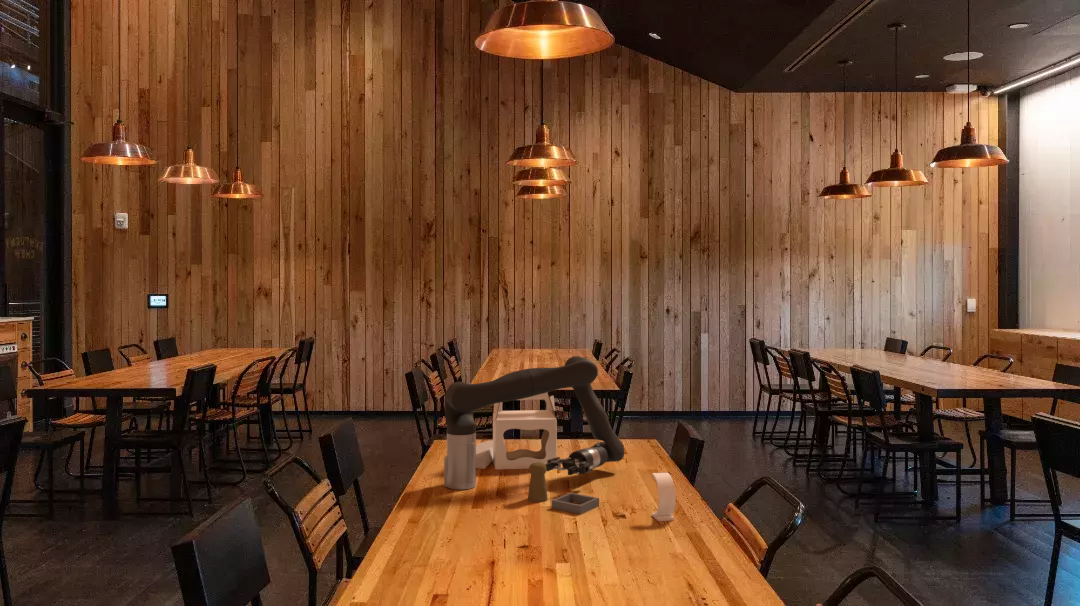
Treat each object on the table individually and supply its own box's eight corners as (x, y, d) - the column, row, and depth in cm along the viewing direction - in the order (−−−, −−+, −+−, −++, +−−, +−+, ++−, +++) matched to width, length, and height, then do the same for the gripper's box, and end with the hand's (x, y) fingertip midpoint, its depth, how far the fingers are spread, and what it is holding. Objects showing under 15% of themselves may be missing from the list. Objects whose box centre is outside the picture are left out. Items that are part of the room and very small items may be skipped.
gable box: (551, 459, 275) (552, 384, 275) (557, 468, 262) (557, 389, 262) (492, 461, 272) (492, 385, 272) (494, 469, 259) (494, 390, 259)
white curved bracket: (667, 514, 208) (667, 472, 208) (675, 521, 202) (675, 477, 202) (651, 515, 207) (652, 473, 207) (659, 522, 201) (660, 478, 201)
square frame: (551, 508, 214) (551, 500, 214) (570, 500, 222) (570, 492, 222) (580, 514, 208) (581, 506, 208) (599, 505, 216) (599, 498, 216)
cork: (527, 496, 226) (527, 460, 225) (546, 496, 226) (546, 460, 226) (528, 502, 220) (528, 465, 219) (548, 502, 220) (548, 465, 220)
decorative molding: (459, 475, 262) (485, 469, 261) (455, 462, 262) (481, 456, 261) (483, 454, 296) (506, 448, 294) (479, 442, 296) (503, 437, 294)
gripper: (566, 446, 249) (538, 454, 235) (603, 451, 240) (576, 461, 227) (566, 468, 249) (538, 478, 235) (603, 474, 241) (576, 485, 227)
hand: (557, 469), depth 231 cm, fingers open, 8 cm apart
